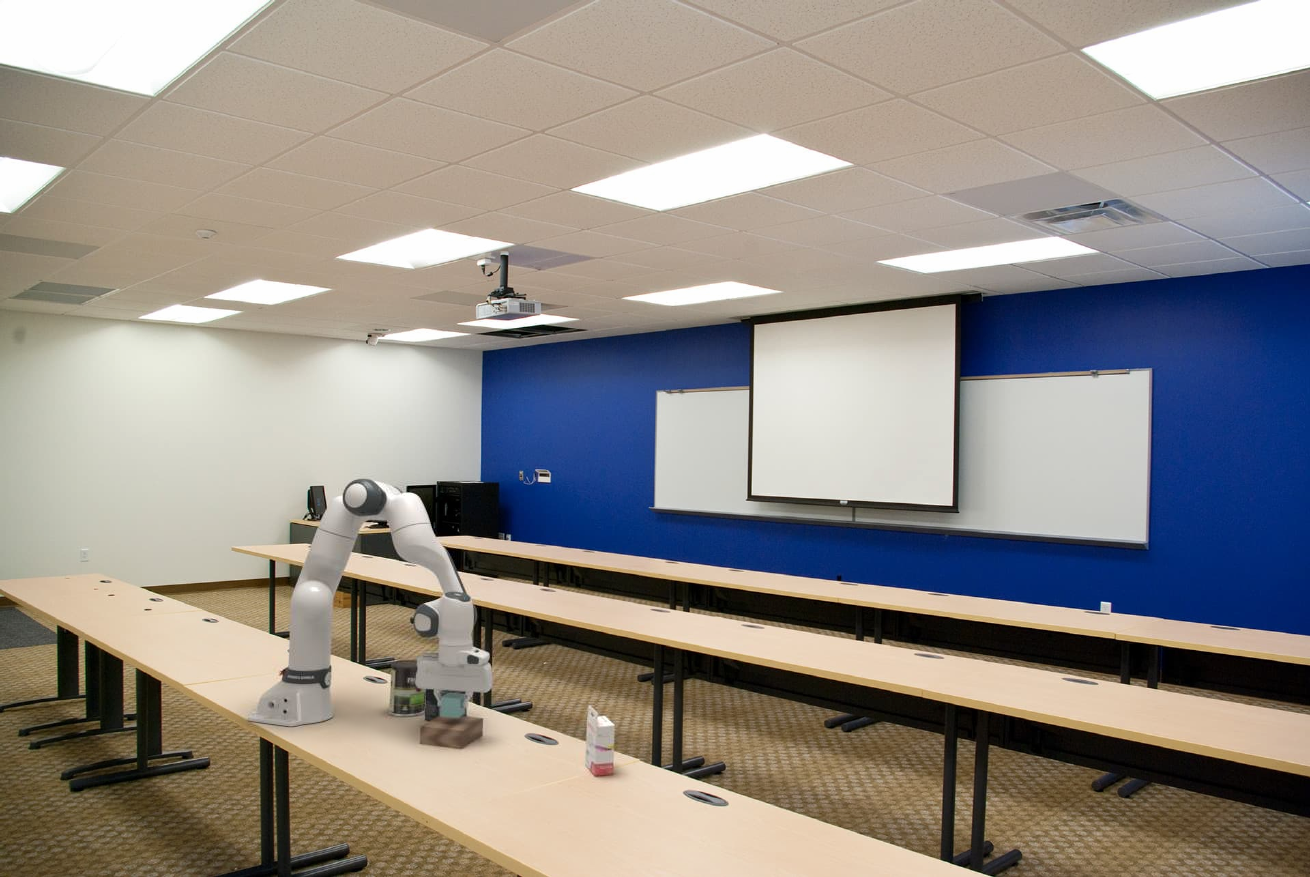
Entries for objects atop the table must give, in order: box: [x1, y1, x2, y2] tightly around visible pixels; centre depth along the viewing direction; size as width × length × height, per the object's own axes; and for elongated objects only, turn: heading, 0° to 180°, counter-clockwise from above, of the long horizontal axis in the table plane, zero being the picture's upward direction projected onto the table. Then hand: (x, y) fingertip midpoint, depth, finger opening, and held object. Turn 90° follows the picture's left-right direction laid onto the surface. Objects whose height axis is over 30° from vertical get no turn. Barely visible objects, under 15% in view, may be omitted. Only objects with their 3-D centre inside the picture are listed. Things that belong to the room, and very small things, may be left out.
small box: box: [424, 689, 468, 722], centre depth 245 cm, size 11×6×10 cm, turn 141°
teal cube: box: [440, 693, 465, 718], centre depth 226 cm, size 5×5×5 cm
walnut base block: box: [419, 715, 484, 750], centre depth 226 cm, size 12×12×5 cm
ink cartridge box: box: [584, 705, 616, 777], centre depth 207 cm, size 9×5×15 cm, turn 21°
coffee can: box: [388, 659, 426, 718], centre depth 250 cm, size 10×10×14 cm
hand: (452, 706), depth 226 cm, fingers closed on teal cube, 5 cm apart
